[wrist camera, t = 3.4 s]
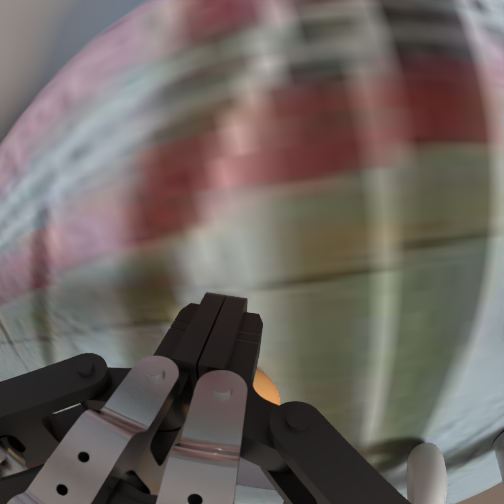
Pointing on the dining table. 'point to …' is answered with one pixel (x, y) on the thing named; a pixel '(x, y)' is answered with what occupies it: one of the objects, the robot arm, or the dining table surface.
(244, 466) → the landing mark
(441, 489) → the donut
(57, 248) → the dining table surface
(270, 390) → the ball
